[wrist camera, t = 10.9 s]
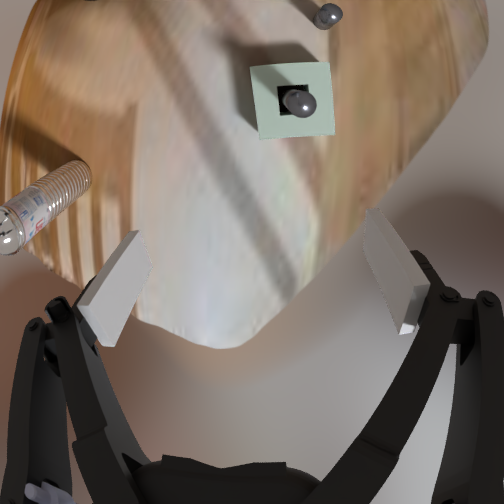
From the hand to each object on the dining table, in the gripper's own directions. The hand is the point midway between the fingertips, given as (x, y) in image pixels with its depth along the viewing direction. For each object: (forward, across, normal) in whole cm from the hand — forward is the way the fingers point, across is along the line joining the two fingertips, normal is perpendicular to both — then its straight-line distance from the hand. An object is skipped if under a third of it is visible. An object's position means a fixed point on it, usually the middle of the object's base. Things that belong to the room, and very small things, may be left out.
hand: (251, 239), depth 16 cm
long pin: (+29, +5, +6) cm, 30 cm away
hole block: (+29, +5, +6) cm, 30 cm away
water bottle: (+29, -33, 0) cm, 44 cm away
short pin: (+29, +11, +18) cm, 36 cm away
